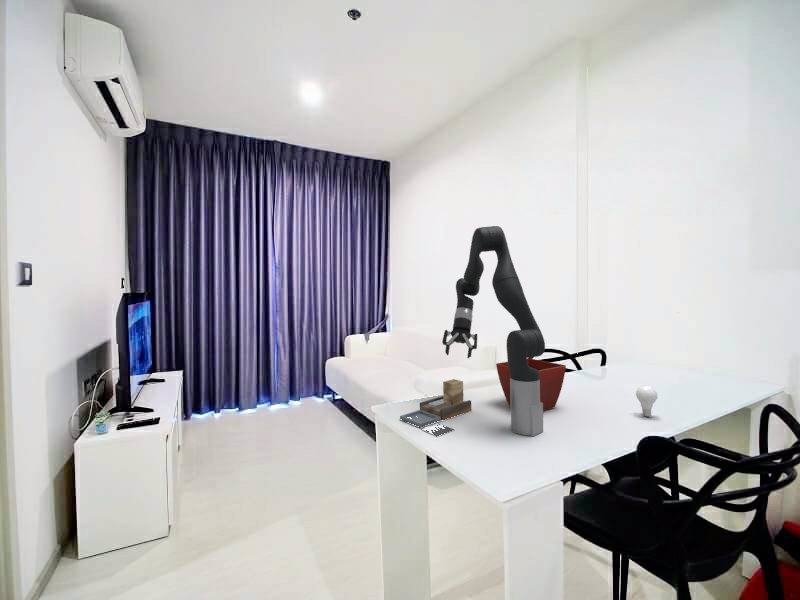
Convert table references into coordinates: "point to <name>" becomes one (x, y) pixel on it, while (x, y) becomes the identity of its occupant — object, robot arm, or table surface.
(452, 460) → the table surface
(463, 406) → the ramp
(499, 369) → the plant pot
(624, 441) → the table surface
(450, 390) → the tall wooden block
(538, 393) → the robot arm
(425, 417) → the tray
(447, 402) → the chip
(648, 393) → the lightbulb
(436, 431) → the mat
